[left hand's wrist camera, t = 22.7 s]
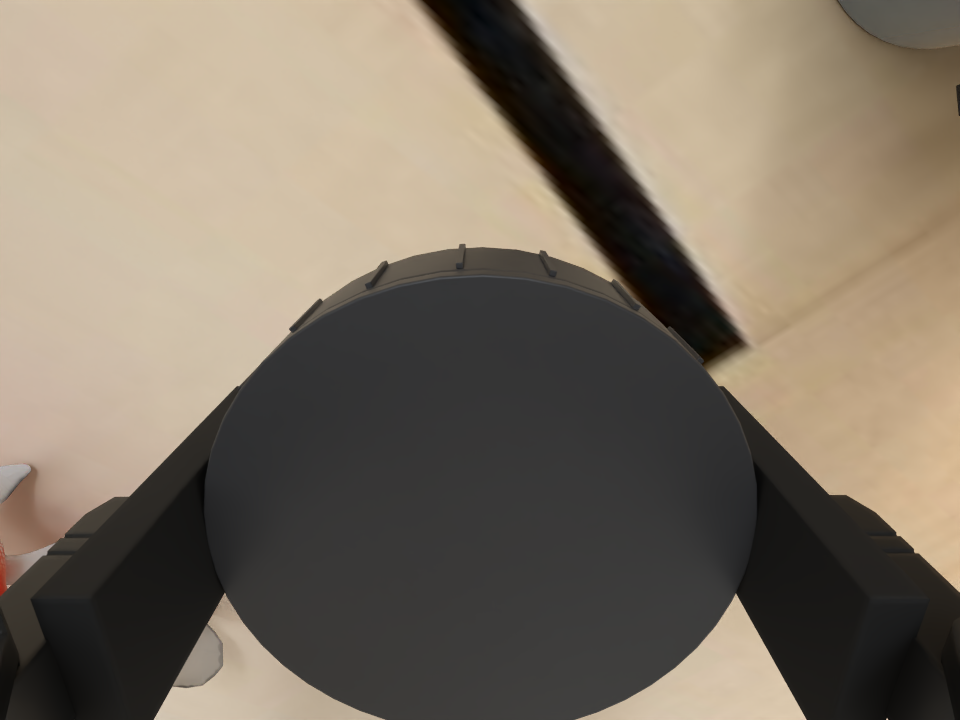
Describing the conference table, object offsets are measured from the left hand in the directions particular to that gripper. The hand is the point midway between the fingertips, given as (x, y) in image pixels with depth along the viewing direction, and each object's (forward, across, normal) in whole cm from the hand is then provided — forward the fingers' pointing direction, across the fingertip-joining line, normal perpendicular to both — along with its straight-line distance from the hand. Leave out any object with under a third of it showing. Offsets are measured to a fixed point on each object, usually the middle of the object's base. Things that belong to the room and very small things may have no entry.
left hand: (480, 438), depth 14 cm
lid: (-3, 0, 0) cm, 3 cm away
